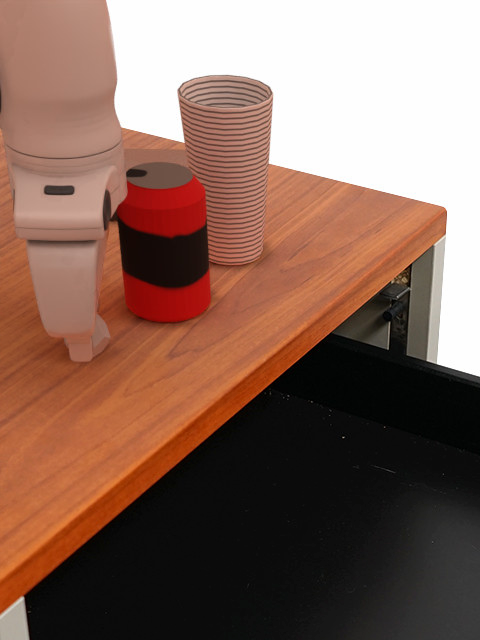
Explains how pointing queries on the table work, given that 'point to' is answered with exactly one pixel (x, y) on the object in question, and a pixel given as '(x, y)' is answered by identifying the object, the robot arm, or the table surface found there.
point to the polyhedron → (98, 336)
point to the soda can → (164, 243)
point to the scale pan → (154, 156)
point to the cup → (229, 159)
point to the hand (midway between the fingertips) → (86, 332)
